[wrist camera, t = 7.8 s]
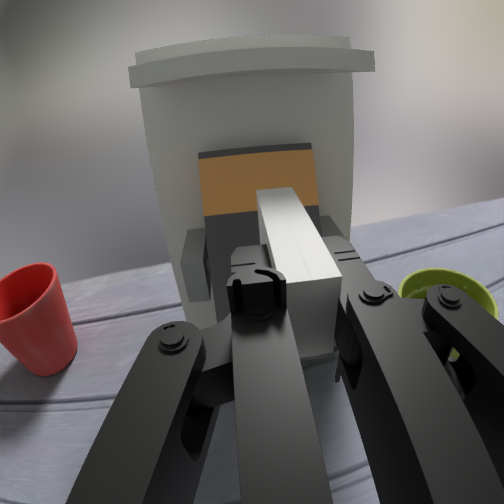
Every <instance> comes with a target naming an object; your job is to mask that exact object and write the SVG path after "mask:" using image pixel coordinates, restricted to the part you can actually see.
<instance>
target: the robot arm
mask: <svg viewBox="0 0 504 504" xmlns="http://www.w3.org/2000/svg"><path fill="white" fill-rule="evenodd" d="M256 196H257V208H258V221H259V233H260V245H253V246H243V247H237V248H236V249H235V251H234V252H233V254H232V255H231V273H232V276H231V277H230V278H229V279H228V282H227V286H226V287H227V293H228V299H229V306H230V313H229V315H228V316H227V317H226V318H225V319H224V320H222V321H221V322H219V323H218V324H215V325H213V326H211V327H208V328H205V329H202V330H199V328H198V327H196V326H195V325H193V324H192V323H188V322H184V321H175V322H170V323H166V324H163V325H161V326H160V327H158V328H156V329H155V330H153V332H152V333H151V334H150V335H149V337H148V338H147V340H146V342H145V343H144V345H143V347H142V349H141V351H140V353H139V354H138V356H137V358H136V360H135V362H134V364H133V366H132V368H131V369H130V371H129V373H128V375H127V377H126V379H125V381H124V383H123V385H122V387H121V389H120V391H119V392H118V394H117V396H116V398H115V400H114V402H113V404H112V406H111V408H110V410H109V412H108V414H107V416H106V418H105V420H104V422H103V424H102V426H101V428H100V430H99V432H98V434H97V436H96V438H95V441H94V443H93V445H92V447H91V449H90V451H89V453H88V455H87V457H86V459H85V462H84V464H83V466H82V468H81V470H80V472H79V474H78V477H77V479H76V481H75V483H74V486H73V488H72V490H71V492H70V494H69V497H68V499H67V501H66V504H193V501H194V497H195V494H196V490H197V487H198V483H199V480H200V476H201V473H202V469H203V466H204V462H205V459H206V455H207V452H208V448H209V445H210V441H211V438H212V434H213V430H214V427H215V423H216V420H217V416H218V413H219V409H220V405H222V404H224V403H227V402H230V401H232V400H235V413H236V430H237V446H238V462H239V477H240V491H241V504H333V500H332V496H331V491H330V487H329V482H328V478H327V473H326V469H325V464H324V460H323V455H322V451H321V447H320V442H319V438H318V433H317V429H316V425H315V421H314V416H313V412H312V408H311V404H310V399H309V395H308V391H307V387H306V383H305V379H304V375H303V370H302V366H301V362H300V358H303V357H309V356H316V355H322V354H328V353H333V351H334V344H335V341H336V344H337V347H338V349H339V357H338V362H337V368H336V374H335V383H336V382H339V380H340V375H341V376H342V379H343V382H344V385H345V388H346V391H347V394H348V398H349V401H350V404H351V407H352V410H353V413H354V416H355V419H356V423H357V426H358V429H359V432H360V436H361V439H362V442H363V445H364V449H365V452H366V455H367V459H368V462H369V466H370V469H371V472H372V476H373V479H374V483H375V487H376V490H377V494H378V497H379V501H380V504H504V325H503V324H501V323H500V322H499V321H498V320H497V319H496V318H495V317H493V316H492V315H491V314H490V313H489V312H488V311H486V310H485V309H484V308H483V307H482V306H481V305H479V304H478V303H477V302H476V301H475V300H473V299H472V298H471V297H470V296H469V295H467V294H466V293H465V292H464V291H462V290H460V289H459V288H457V287H454V286H451V285H448V284H438V285H434V286H432V287H431V288H429V289H428V291H427V294H426V297H425V299H415V298H403V297H400V296H399V295H398V293H397V292H396V291H395V290H394V289H393V288H392V287H391V286H390V285H388V284H386V283H384V282H381V281H377V280H375V279H374V277H373V276H372V274H371V273H370V271H369V270H368V268H367V267H366V265H365V264H364V262H363V261H362V259H360V256H359V255H358V253H357V252H355V249H354V248H353V246H352V245H351V243H350V242H349V241H347V240H346V239H344V238H343V237H341V236H339V235H337V236H328V237H321V236H320V235H319V233H318V231H317V229H316V228H315V226H314V224H313V222H312V221H311V219H310V217H309V215H308V214H307V212H306V210H305V208H304V207H303V205H302V203H301V202H300V200H299V198H298V197H297V195H296V193H295V192H294V190H293V188H292V187H286V188H274V189H264V190H256ZM453 348H454V349H455V350H456V351H457V352H458V353H459V354H460V355H459V357H458V359H455V358H453V357H452V356H451V355H450V354H451V352H452V350H453Z"/></svg>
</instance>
